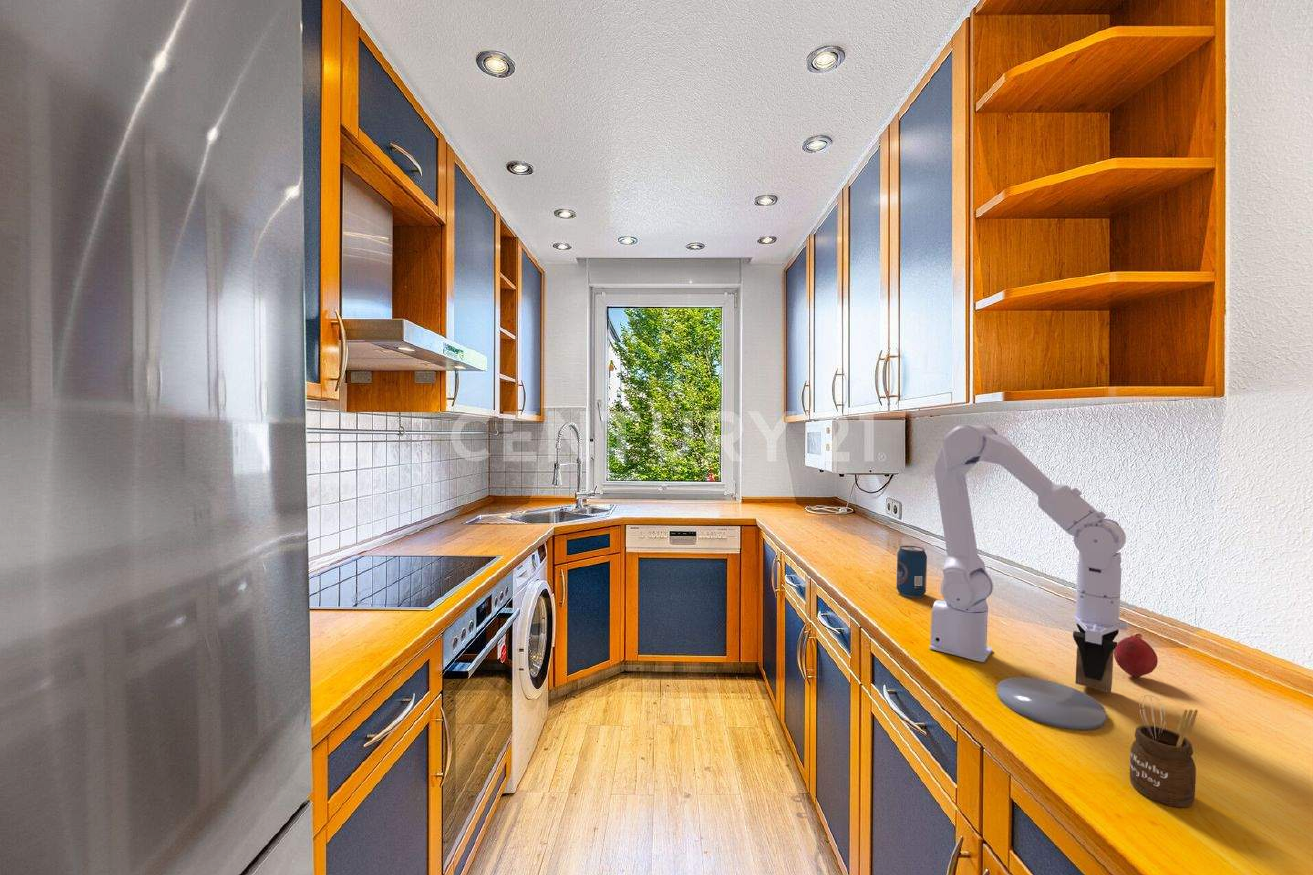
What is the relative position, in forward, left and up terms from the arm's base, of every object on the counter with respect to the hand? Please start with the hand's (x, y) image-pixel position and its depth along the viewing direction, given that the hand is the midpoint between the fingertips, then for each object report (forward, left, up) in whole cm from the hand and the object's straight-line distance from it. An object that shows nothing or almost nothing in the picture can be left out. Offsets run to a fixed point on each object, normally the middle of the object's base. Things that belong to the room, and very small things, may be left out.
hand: (1094, 672), depth 93 cm
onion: (+5, +11, -3) cm, 13 cm away
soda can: (-39, +33, -3) cm, 51 cm away
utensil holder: (+8, -27, -3) cm, 28 cm away
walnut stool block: (0, 0, -2) cm, 2 cm away
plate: (-5, -11, -3) cm, 12 cm away
